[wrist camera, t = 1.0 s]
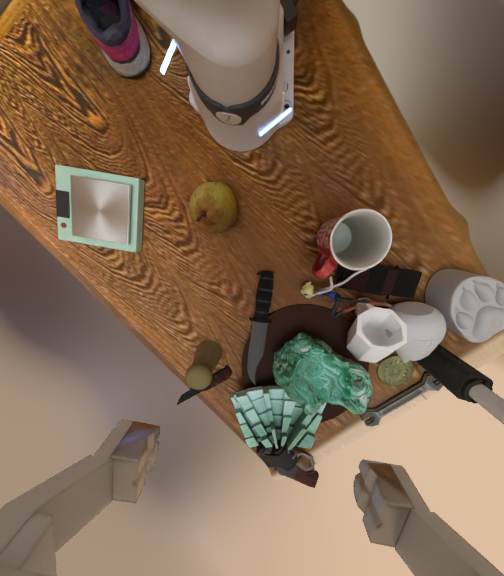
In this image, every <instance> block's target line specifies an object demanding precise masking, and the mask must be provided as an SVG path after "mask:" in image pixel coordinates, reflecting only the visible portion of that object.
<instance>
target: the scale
mask: <svg viewBox="0 0 504 576" xmlns="http://www.w3.org/2000/svg"><path fill="white" fill-rule="evenodd" d="M55 173H56V207H57V221H58V239H60V240H66V241H72V242H78V243H84V244H90V245H95V246H101V247H107V248H113V249H119V250H125V251H131V252H140V251H142V231H143V209H144V188H145V181H144V180H141V179H139V178H133V177H127V176H121V175H115V174H109V173H103V172H97V171H92V170H86V169H80V168H74V167H68V166H62V165H56V164H55ZM70 175H74V176H80V177H86V178H92V179H98V180H104V181H109V182H115V183H121V184H127V185H131V198H130V229H129V245H126V244H120V243H114V242H108V241H103V240H97V239H91V238H85V237H79V236H73V235H72V214H71V178H70Z"/></svg>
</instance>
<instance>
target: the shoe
mask: <svg viewBox="0 0 504 576" xmlns="http://www.w3.org/2000/svg"><path fill="white" fill-rule="evenodd" d="M74 2H75V4H76V6H77V8H78V10H79V13H80V15H81V17H82V19H83V22H84V24H85V25H86V27H87V29H88V30H89V32H90V33H91V35H92V37H93V38H94V39H95V41H96V42H97V44H98V45H99V47H100V48H101V50H102V52H103V54H104V55H105V57H106V59H107V60H108V62H109V63H110V65H111V66H112V68H114V70H115V71H116V72H117V73H118V74H120V75H121V76H123V77H136V76H138V75H140V74H141V73H143V72H144V71H145V70H146V68H147V67H148V65H149V63H150V56H149V55H150V48H149V44H148V40H147V38H146V35H145V33H144V31H143V29H142V26H141V24H140V23H139V21H138V19H137V18H136V17H135V15H134V12H133V9H132V5H131V2H130V0H74Z"/></svg>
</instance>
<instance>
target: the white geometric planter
mask: <svg viewBox="0 0 504 576" xmlns="http://www.w3.org/2000/svg"><path fill="white" fill-rule="evenodd" d="M358 300H370V299H369V298H368V297H363V298H358ZM357 306H359V307H360V309H358V308H357V309H356V310H355V313H356V315H357V318H356V319H355V321H354V323H353V324H352V326H351V328H350V329H349V331H348V336H347V346H346V348H347V349H348V350H349V351H350V352H351V353H352V354H353V355H354V356H355V357H356V358H357V359H358V360H360V361H365V362H371V363H376V362H378V361H379V360H381V359H383V358H385V357H386V356H388V355H389V354H391V353H392V352H394V351H395V350H397V349H398V348H400V347H401V346H403V345H404V344H406V343H407V325H406V324H405V323H404V322H403V321H402V320H401V319H400V317H399V316H398V315H397V314H396V313H395V312H394V311H393V310H390V309H384V308H379V307H374V305H371V304H367V303H357ZM385 329H388V330H389V331H390V332H392V336H391V337H388V336H387V335H386V331H385Z"/></svg>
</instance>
